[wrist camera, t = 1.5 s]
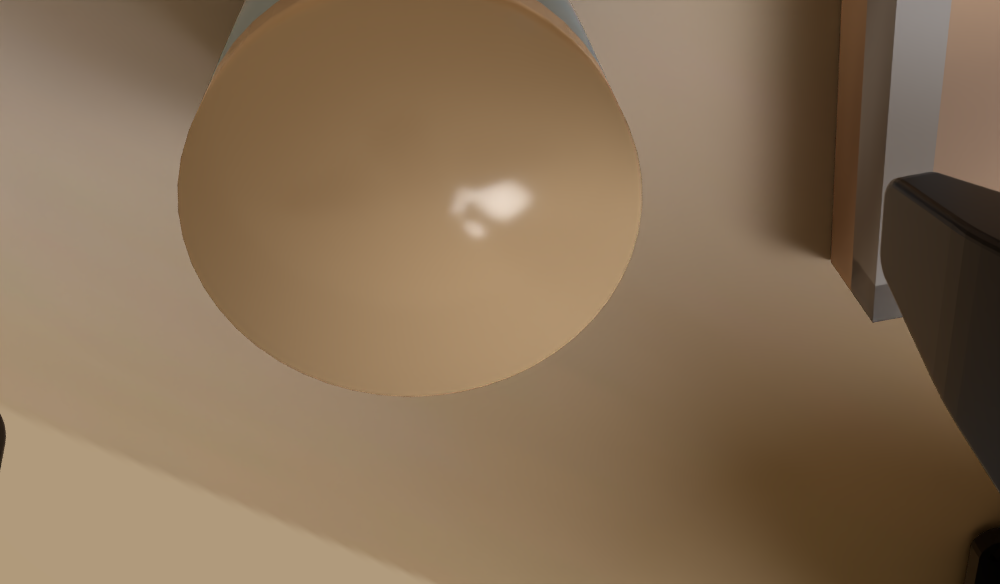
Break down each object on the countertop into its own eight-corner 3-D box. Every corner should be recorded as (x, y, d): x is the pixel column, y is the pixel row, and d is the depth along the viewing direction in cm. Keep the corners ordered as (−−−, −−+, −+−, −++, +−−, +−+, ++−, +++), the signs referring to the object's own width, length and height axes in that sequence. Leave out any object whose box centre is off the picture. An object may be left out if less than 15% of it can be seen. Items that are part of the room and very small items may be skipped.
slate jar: (582, 143, 17) (658, 355, 12) (302, 196, 17) (261, 429, 12) (542, -166, 14) (620, -55, 9) (206, -99, 14) (99, 46, 9)
